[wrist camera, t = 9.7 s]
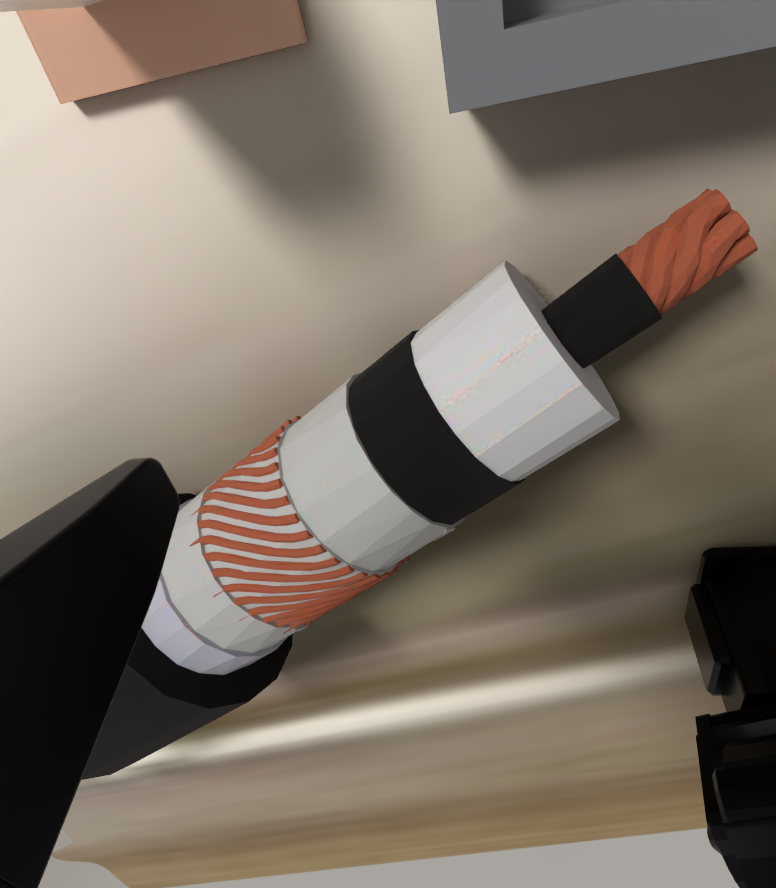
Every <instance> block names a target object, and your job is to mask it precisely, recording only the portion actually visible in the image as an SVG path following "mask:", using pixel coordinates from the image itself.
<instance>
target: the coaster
mask: <svg viewBox="0 0 776 888" xmlns="http://www.w3.org/2000/svg"><path fill="white" fill-rule="evenodd" d="M16 12H17V14H18V16H19V18H20V20H21V22H22V24H23V26H24V29H25V31H26V33H27V35H28V37H29V39H30V41H31V43H32V45H33V47H34V50H35V52H36V54H37V56H38V58H39V60H40V62H41V64H42V66H43V68H44V70H45V73H46V75H47V77H48V79H49V81H50V83H51V85H52V87H53V89H54V91H55V94H56V96H57V98H58V100H59V102H60V104H64V103H68V102H72V101H75V100H79V99H83V98H87V97H91V96H95V95H99V94H103V93H107V92H111V91H115V90H119V89H123V88H127V87H131V86H135V85H139V84H143V83H147V82H151V81H155V80H159V79H163V78H167V77H171V76H175V75H179V74H183V73H187V72H191V71H195V70H199V69H203V68H207V67H211V66H215V65H219V64H223V63H227V62H231V61H235V60H239V59H243V58H247V57H251V56H255V55H259V54H263V53H267V52H271V51H275V50H279V49H283V48H287V47H291V46H295V45H299V44H303V43H306V42H307V38H306V34H305V29H304V25H303V21H302V17H301V12H300V8H299V4H298V0H105V1H102V2H98V3H95V4H92V5H89V6H85V7H75V8H58V9H41V10H24V11H16Z"/></svg>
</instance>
